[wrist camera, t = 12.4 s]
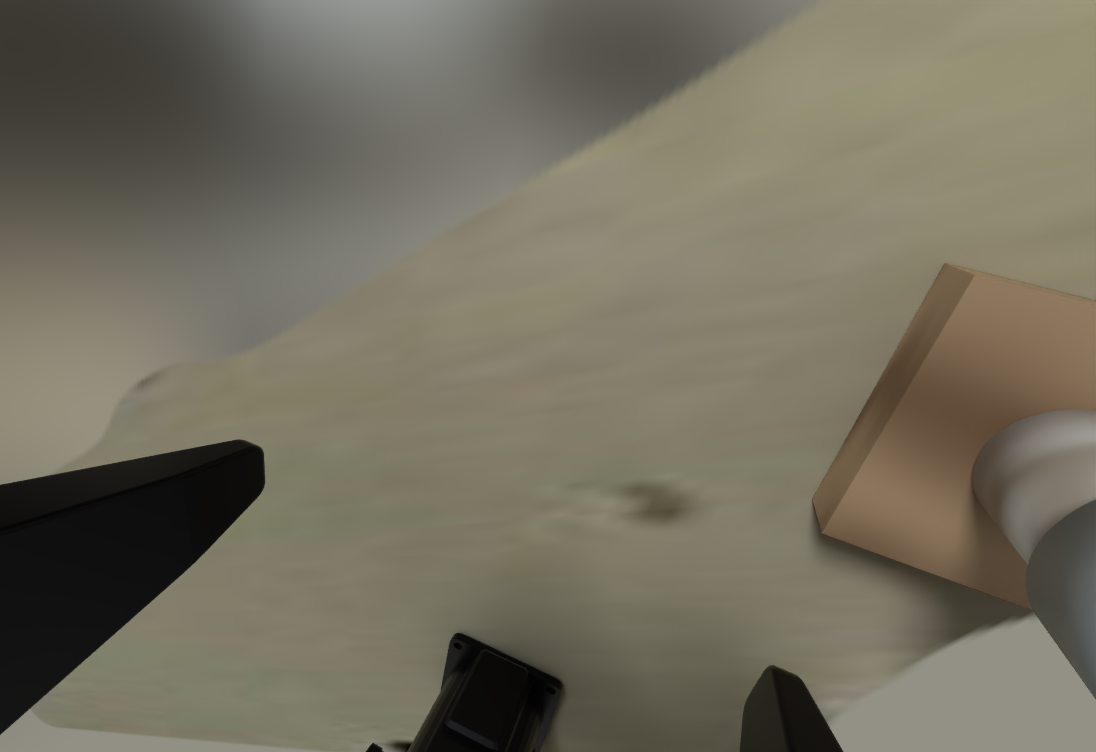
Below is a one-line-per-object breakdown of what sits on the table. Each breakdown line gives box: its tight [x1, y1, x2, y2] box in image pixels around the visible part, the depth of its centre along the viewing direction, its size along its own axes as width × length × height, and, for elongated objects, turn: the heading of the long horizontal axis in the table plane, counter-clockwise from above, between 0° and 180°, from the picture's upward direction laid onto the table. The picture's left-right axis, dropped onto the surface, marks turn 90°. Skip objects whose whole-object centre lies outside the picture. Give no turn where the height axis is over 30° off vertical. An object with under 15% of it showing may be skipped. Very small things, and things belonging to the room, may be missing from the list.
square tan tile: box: [812, 263, 1096, 611], centre depth 13 cm, size 9×9×6 cm
